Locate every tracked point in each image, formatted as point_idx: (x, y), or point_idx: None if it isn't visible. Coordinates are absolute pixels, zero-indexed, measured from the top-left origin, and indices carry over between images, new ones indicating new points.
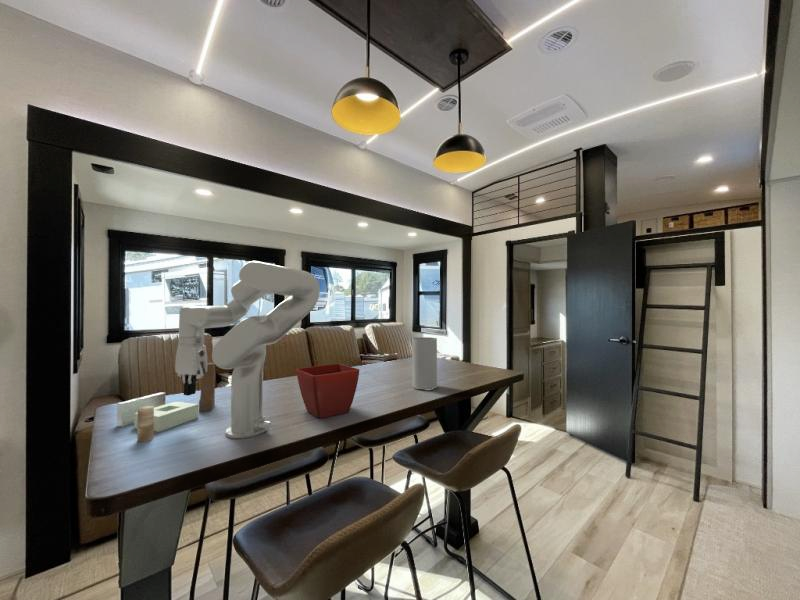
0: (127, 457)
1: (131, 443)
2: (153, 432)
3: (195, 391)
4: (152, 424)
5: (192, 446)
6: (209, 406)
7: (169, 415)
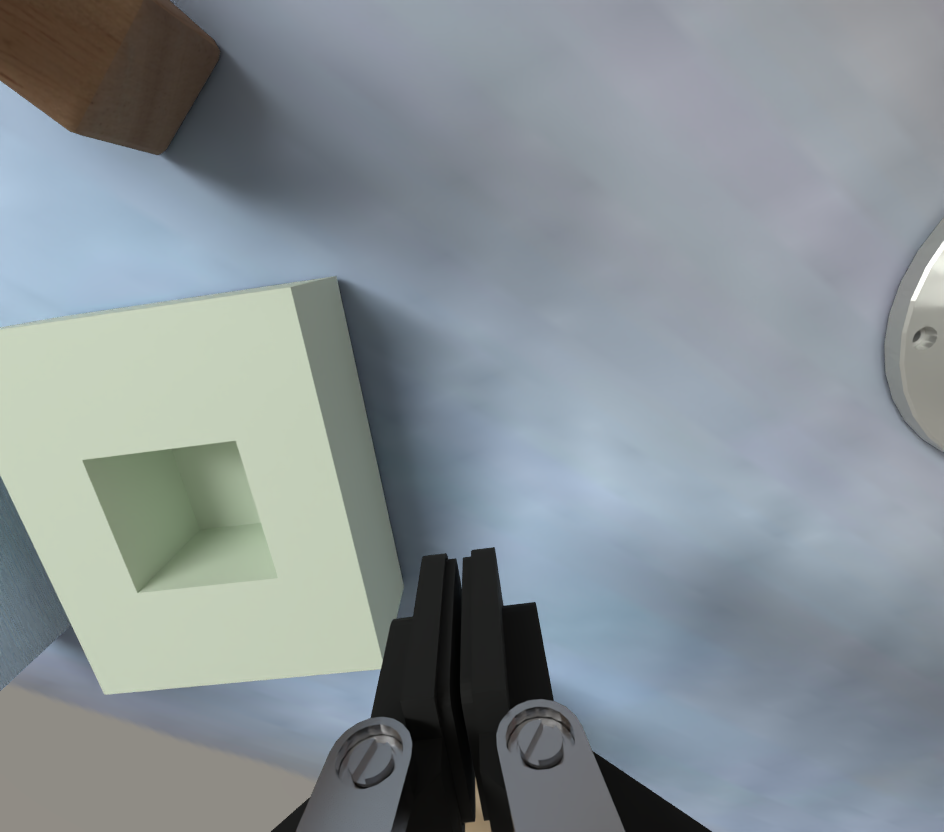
0: None
1: None
2: None
3: (495, 560)
4: None
5: (836, 624)
6: (186, 56)
7: (371, 581)
